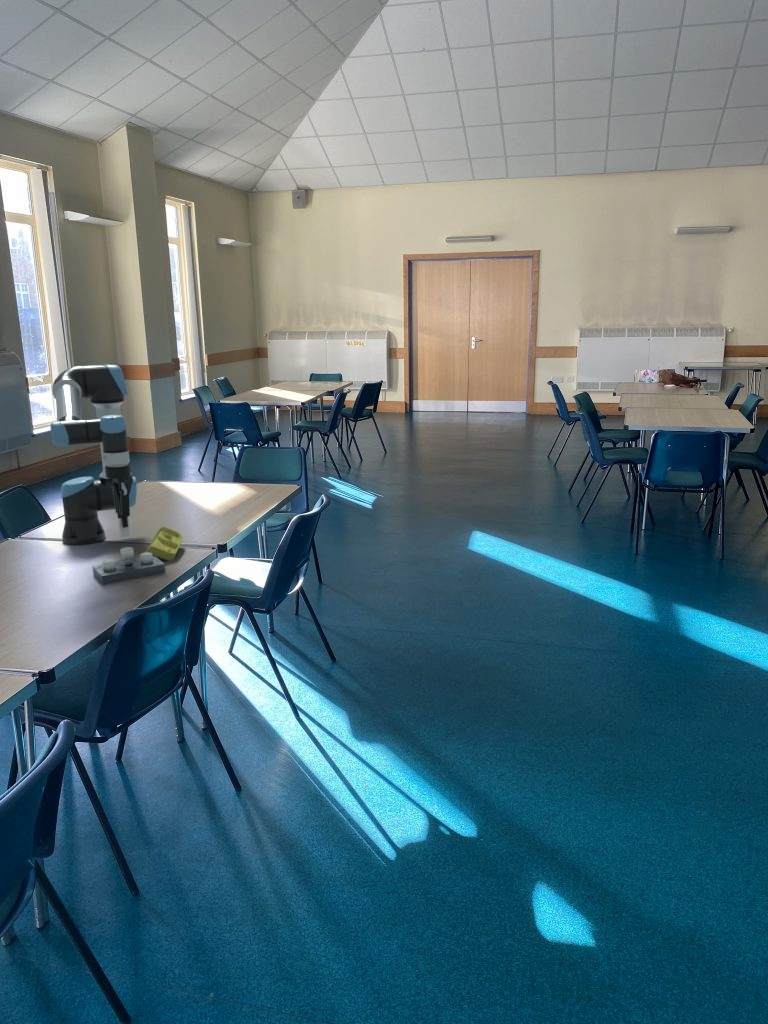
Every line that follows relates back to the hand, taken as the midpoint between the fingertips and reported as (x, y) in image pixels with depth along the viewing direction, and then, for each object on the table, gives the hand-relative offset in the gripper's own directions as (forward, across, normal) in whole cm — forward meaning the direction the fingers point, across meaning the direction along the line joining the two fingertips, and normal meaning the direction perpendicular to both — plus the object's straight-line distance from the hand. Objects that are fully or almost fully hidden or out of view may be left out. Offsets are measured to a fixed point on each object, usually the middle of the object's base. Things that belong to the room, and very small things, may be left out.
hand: (125, 536), depth 244 cm
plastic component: (+13, -15, +17) cm, 26 cm away
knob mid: (+10, 0, 0) cm, 10 cm away
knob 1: (+13, 0, -6) cm, 14 cm away
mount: (+13, 0, 0) cm, 13 cm away
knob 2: (+13, 0, +6) cm, 14 cm away
